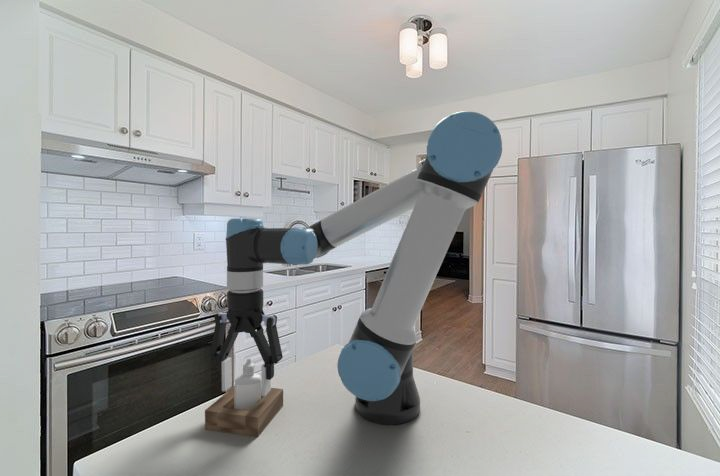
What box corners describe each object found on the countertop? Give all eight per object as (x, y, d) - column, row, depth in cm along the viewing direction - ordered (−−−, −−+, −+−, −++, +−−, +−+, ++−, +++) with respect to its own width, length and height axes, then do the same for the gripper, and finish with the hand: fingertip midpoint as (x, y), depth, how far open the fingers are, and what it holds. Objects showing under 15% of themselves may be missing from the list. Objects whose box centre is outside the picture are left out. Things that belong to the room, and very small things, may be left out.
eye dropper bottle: (254, 418, 74) (256, 363, 73) (230, 415, 75) (232, 360, 74) (263, 408, 78) (265, 356, 78) (240, 405, 79) (241, 353, 78)
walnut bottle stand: (283, 405, 81) (283, 389, 81) (258, 436, 69) (258, 417, 69) (236, 400, 83) (236, 383, 83) (205, 429, 72) (204, 410, 72)
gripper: (298, 288, 77) (298, 387, 78) (212, 284, 81) (213, 378, 82) (284, 295, 69) (284, 405, 70) (190, 290, 74) (191, 393, 75)
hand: (246, 390), depth 76 cm, fingers open, 9 cm apart
